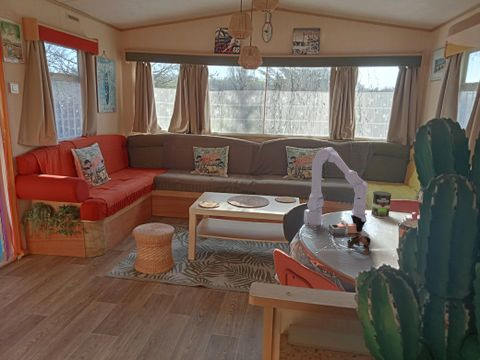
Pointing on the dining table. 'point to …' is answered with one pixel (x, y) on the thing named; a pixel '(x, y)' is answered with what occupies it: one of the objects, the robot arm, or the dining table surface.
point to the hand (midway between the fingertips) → (357, 230)
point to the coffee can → (381, 204)
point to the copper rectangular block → (349, 227)
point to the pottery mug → (357, 240)
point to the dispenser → (344, 230)
